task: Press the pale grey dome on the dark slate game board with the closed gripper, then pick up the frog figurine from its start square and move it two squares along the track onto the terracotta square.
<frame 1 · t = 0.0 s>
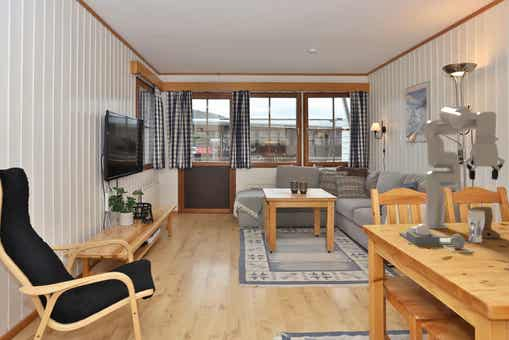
hand: (483, 179, 166), 31 cm above the table, tool pointing down, fingers open, 9 cm apart
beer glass: (475, 242, 181), on the table
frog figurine: (457, 249, 169), resting in game board
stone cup: (483, 236, 193), on the table
dome button: (422, 229, 179), point 6 cm above the table, slide at 0.0 cm
game board: (432, 241, 181), on the table
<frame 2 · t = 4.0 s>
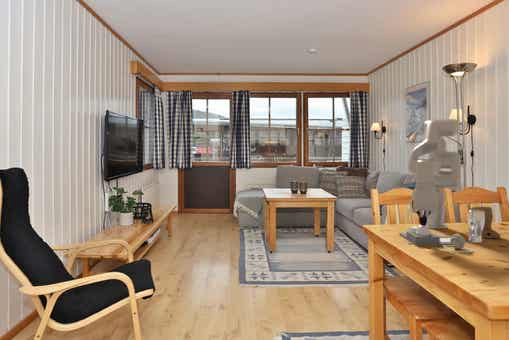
hand: (422, 224, 179), 8 cm above the table, tool pointing down, fingers closed
dome button: (422, 231, 179), point 5 cm above the table, slide at 0.5 cm, touching gripper
everything else where it was.
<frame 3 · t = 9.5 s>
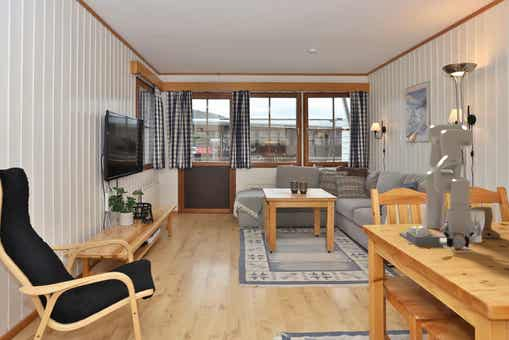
hand: (457, 246, 169), 1 cm above the table, tool pointing down, fingers closed on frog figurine, 6 cm apart
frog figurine: (457, 249, 169), resting in game board, touching gripper
dome button: (422, 232, 179), point 5 cm above the table, slide at 1.1 cm
everything else where it was.
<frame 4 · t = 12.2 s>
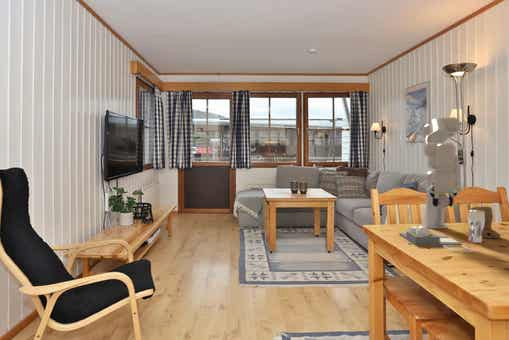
hand: (442, 205, 183), 17 cm above the table, tool pointing down, fingers closed on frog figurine, 6 cm apart
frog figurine: (442, 208, 183), point 15 cm above the table, touching gripper
everything else where it was.
when the fingers open (4 cm above the table, at t = 15.4 s): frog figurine drops 1 cm, resting on game board.
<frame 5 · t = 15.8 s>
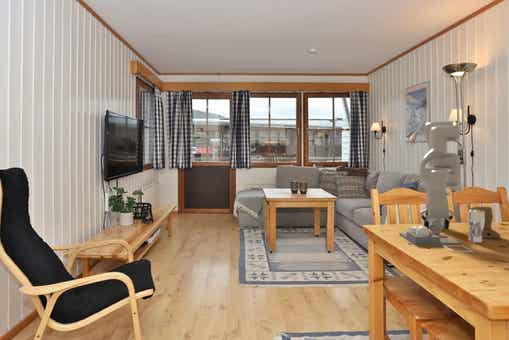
hand: (436, 228, 189), 4 cm above the table, tool pointing down, fingers open, 9 cm apart
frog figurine: (435, 234, 190), point 1 cm above the table, touching game board
everything else where it was.
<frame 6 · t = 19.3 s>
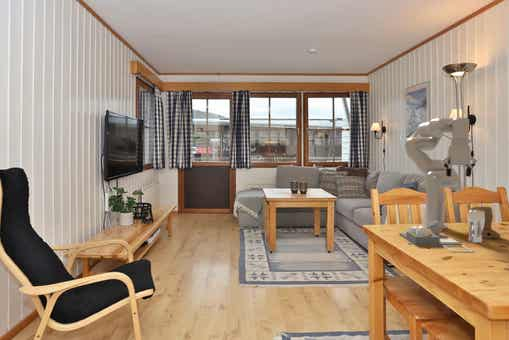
hand: (458, 176, 191), 30 cm above the table, tool pointing down, fingers open, 9 cm apart
nothing on the table moved.
at the end: dome button slide at 1.1 cm; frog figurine 0.2 cm from the target spot, point 1.1 cm above the table; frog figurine tilted 0° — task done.
